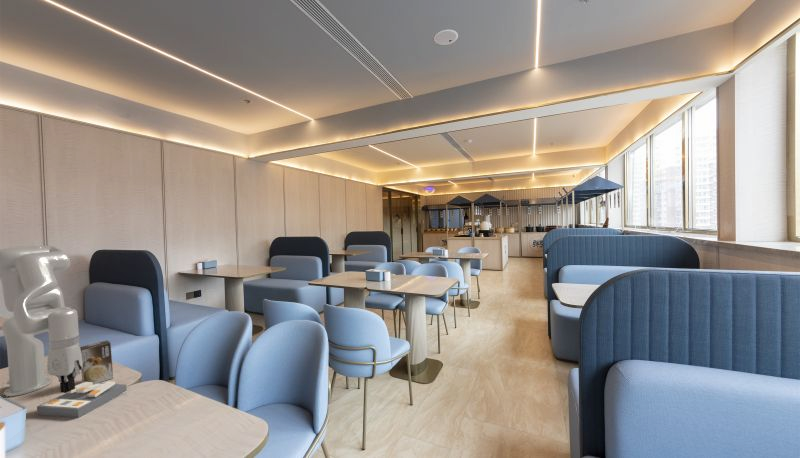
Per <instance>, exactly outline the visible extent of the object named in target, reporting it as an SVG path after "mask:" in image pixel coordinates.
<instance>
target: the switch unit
mask: <svg viewBox="0 0 800 458" xmlns="http://www.w3.org/2000/svg"><path fill="white" fill-rule="evenodd" d="M104 383H105V382H100V383H93V385H94V384H104ZM127 388H128V387H127V384H121V383H115V384H114V385H113V386H111V387H110V388H109V389H107V390H106V391H104V392H103V393H101V394H100V395H98V396H97V397H88V396H87V394H89V393H90V392H92V391H93V390H91V391H88V392H84V393H78V392H73V393H62V394H61V395H59V396H57V397H55V398H52V399H50V400H48V401H46V402H44V403H41V404H39V405H38V406H36V411H37V412H36V415H38V416H53V417H63V418H78V419H79V418H81V417H83V416H84V415H86V414H87V415H88V414H89V413H90V412H93V411H94V410H96V409H98V408H99V406H100V407H102V406H103V405H105V404H107V403H109V402H110V400H111V401H112V399H113V398H114V399H116V398H118V397H120V396H121V395H120V394H122V393H123V392H125V391H126V390H127ZM94 390H95V389H94ZM127 391H128V390H127ZM119 395H120V396H119ZM122 395H123V394H122ZM117 396H118V397H117ZM115 397H116V398H115ZM114 399H113V400H114Z"/></svg>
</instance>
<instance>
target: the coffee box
mask: <svg viewBox="0 0 800 458" xmlns="http://www.w3.org/2000/svg"><path fill="white" fill-rule="evenodd" d="M80 349H81V354H82V361H83V367H82V369H81V370H80V374H81V383H84V382H93V383H104V382H107V381H109V380H112V379H113V378H114V371H113V368H114V367H113V355H112V345H111V342H110V340H103V341H99V342H96V343H91V344H86V345H83V346H80Z"/></svg>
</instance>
